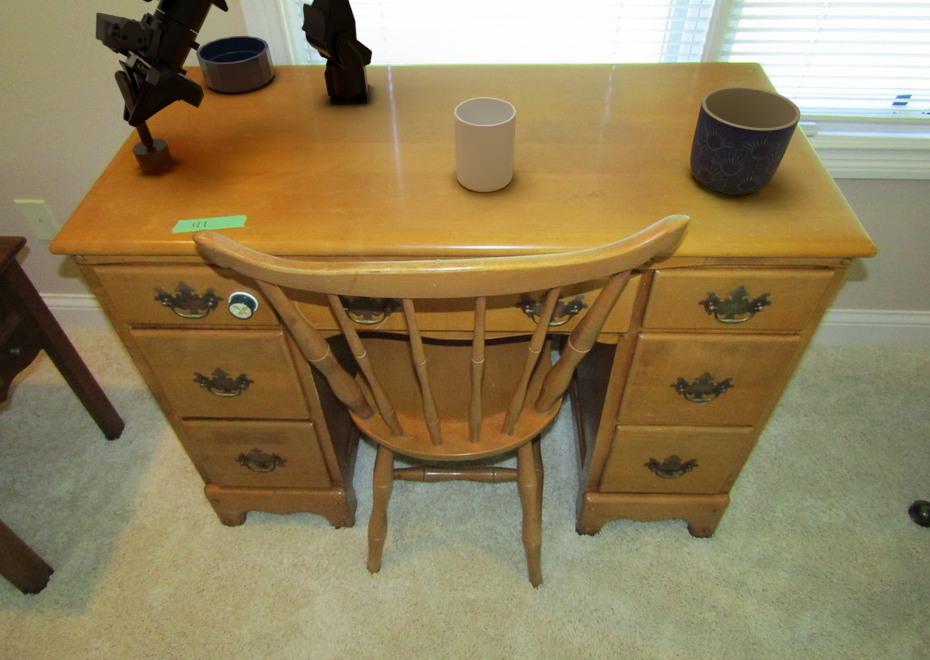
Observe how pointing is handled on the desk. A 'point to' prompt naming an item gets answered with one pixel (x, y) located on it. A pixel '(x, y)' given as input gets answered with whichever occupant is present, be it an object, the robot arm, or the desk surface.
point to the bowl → (236, 64)
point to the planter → (741, 138)
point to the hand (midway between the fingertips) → (129, 123)
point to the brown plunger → (143, 132)
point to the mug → (484, 143)
